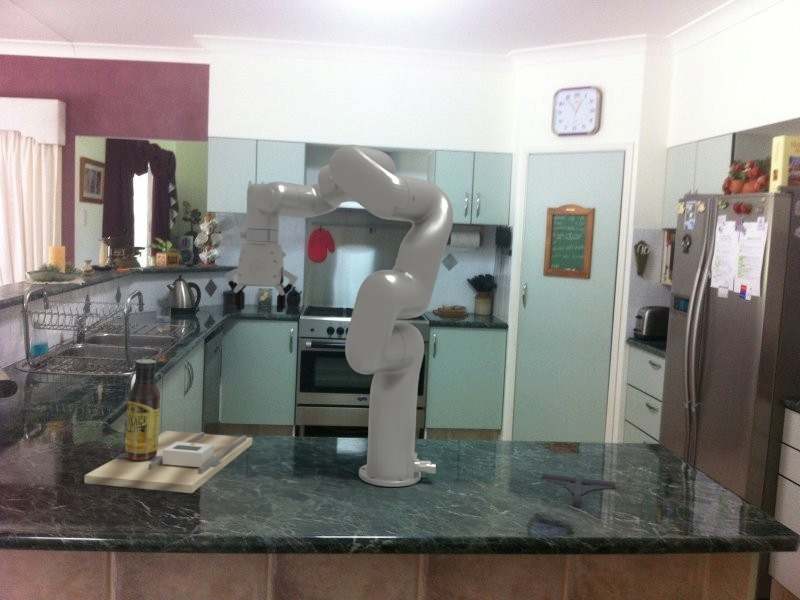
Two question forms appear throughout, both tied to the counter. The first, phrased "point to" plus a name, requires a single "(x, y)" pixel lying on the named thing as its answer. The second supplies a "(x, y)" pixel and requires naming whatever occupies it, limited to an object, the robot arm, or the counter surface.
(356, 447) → the counter surface
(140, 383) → the sauce bottle
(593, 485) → the bracket
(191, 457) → the white rectangular box
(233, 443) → the wooden cutting board
